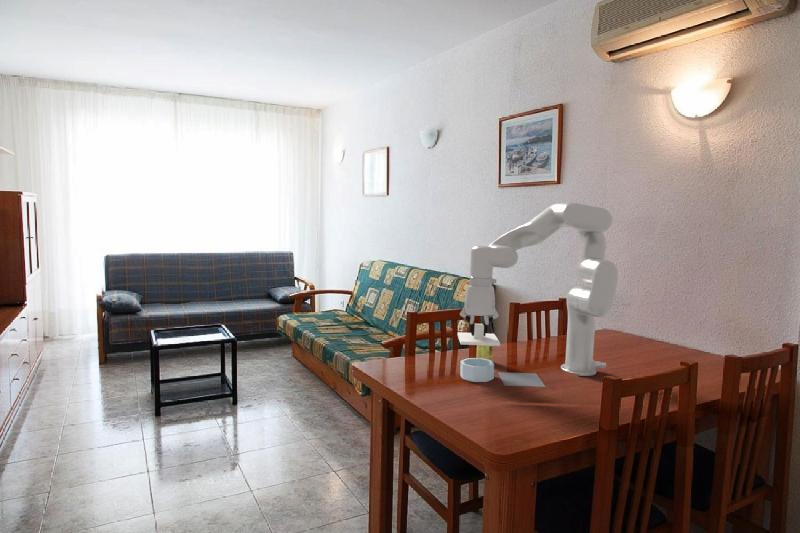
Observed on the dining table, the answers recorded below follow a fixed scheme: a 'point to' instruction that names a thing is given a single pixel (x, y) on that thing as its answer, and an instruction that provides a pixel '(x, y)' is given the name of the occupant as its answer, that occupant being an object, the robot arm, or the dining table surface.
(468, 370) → the bowl
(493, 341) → the lid
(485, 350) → the sauce bottle
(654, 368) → the dining table surface
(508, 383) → the mat
